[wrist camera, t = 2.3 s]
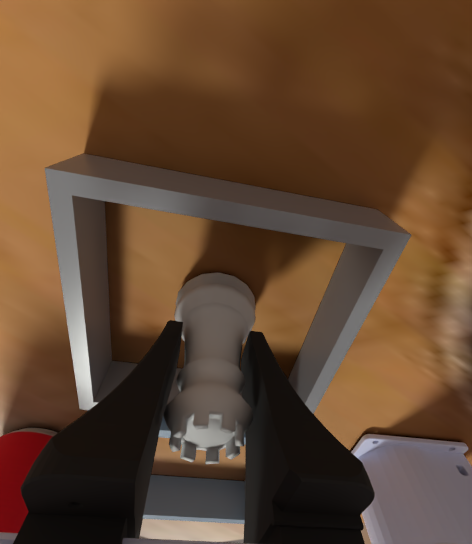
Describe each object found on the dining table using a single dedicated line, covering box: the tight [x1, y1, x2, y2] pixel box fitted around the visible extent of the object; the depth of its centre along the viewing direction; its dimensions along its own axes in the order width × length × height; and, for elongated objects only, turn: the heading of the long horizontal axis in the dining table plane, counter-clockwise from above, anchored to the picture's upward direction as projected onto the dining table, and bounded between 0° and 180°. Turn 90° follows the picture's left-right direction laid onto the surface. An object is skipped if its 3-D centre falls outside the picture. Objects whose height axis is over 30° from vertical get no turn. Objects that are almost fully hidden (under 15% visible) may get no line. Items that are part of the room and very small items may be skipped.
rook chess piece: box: [163, 273, 255, 464], centre depth 13 cm, size 4×4×8 cm
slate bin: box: [88, 410, 246, 524], centre depth 23 cm, size 14×14×3 cm
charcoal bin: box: [45, 153, 411, 413], centre depth 15 cm, size 14×14×3 cm
